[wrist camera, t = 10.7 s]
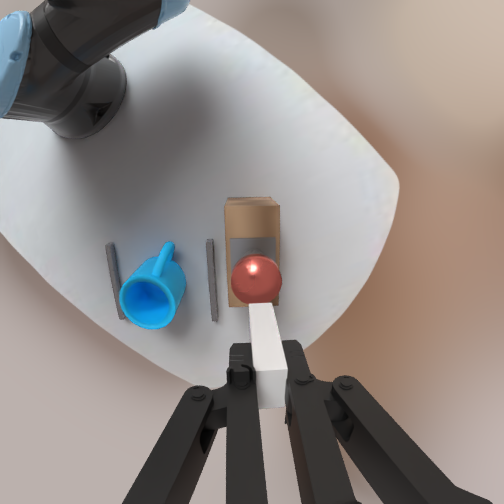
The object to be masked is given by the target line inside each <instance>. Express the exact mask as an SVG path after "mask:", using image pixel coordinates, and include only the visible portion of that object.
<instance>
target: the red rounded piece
mask: <svg viewBox="0 0 504 504" xmlns="http://www.w3.org/2000/svg"><path fill="white" fill-rule="evenodd" d="M281 285H282V278H281V274H280V271H279V269H278V266H277V265H276V263H275V262H274V261H273V260H272V259H271V258H269V257H267V256H265V254H264V253H263V252H262V251H260V250H257V249H250V250H247V251H246V252H244V253H243V254H242V256H241V258H240V260H239V261H238V262H237V263H236V264H235V266H234V267H233V270H232V274H231V288H232V291H233V293H234V295H235V296H236V297H237V298H238V299H239V300H240V301H242V302H243V303H246V304H248V305H249V304H252V303H268V302H270V301H272V300H273V299H274V298H275V297H276V296H277V295H278V293H279V291H280V289H281Z"/></svg>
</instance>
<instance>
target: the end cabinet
mask: <svg viewBox="0 0 504 504" xmlns="http://www.w3.org/2000/svg"><path fill="white" fill-rule="evenodd" d="M224 212H225V239H226V262H227V283H228V301H229V307H249V305H248V304H246V303H243V302H242V301H240V300H239V299H238V298H237V297H236V296H235V295H234V293H233V291H232V288H231V274H232V270H233V267H234V266H235V264H236V263H237V262H238V261H239V260H240V258H241V256H242V254H243V253H244V252H246V251H247V250H250V249H257V250H260V251H262V252H263V253H264V254H265V256H267V257H269V258H271V259H272V260H273V261H274V262H275V263H276V265H277V266H278V269H279V250H280V205H278V204H277V203H276V202H275V201H274V200H273V199H272V198H271V197H243V198H228V199H227V202H226V204H225V206H224ZM268 303H272V305H273V306H277V305H278V303H279V293H278V295H277V296H276V297H275V298H274V299H273V300H272V301H270V302H268Z"/></svg>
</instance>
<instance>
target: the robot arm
mask: <svg viewBox="0 0 504 504" xmlns="http://www.w3.org/2000/svg"><path fill="white" fill-rule="evenodd" d="M189 2H190V0H45V1H44V2H43V3H41V4H40V5H39V6H38V7H37V8H35V9H34V10H33V11H32V12H31V13H30V14H29V13H28V12H27V11H15V12H13V13H12V14H9V15H7V16H6V17H4V18H3V19H2V20H1V21H0V118H4V119H17V120H27V121H36V122H43V123H45V124H46V125H47V126H48V127H49V128H51V129H52V130H53V131H54V132H55V133H56V134H58V135H60V136H62V137H66V138H75V139H78V138H84V137H88V136H90V135H92V134H94V133H96V132H98V131H99V130H100V129H102V128H103V127H104V126H105V125H106V124H107V123H108V122H109V121H110V120H111V119H112V117H113V116H114V115H115V113H116V112H117V110H118V108H119V106H120V104H121V102H122V100H123V97H124V93H125V88H126V75H125V71H124V68H123V66H122V64H121V63H120V62H119V61H118V60H117V59H116V58H115V57H114V56H112V55H111V54H110V53H112V52H113V51H115V50H116V49H118V48H119V47H121V46H123V45H124V44H126V43H128V42H129V41H131V40H133V39H134V38H136V37H138V36H140V35H141V34H143V33H145V32H147V31H149V30H151V29H156V28H158V27H159V26H160V25H161V24H162V23H164V22H166V21H168V20H170V19H172V18H174V17H176V16H178V15H179V14H181V13H182V12H184V11H185V9H186V8H187V6H188V4H189ZM249 337H250V343H233V345H232V346H231V348H230V354H229V368H228V369H227V372H226V373H227V383H226V384H225V385H224V386H223V387H221V388H218V389H215V390H210V389H209V388H208V387H205V386H193V387H190V388H189V389H187V390H186V391H185V393H184V395H183V396H182V398H181V400H180V402H179V404H178V405H177V407H176V409H175V411H174V413H173V415H172V416H171V418H170V420H169V421H168V423H167V425H166V427H165V429H164V430H163V432H162V434H161V436H160V437H159V439H158V441H157V443H156V445H155V446H154V448H153V450H152V452H151V453H150V455H149V457H148V459H147V461H146V462H145V464H144V466H143V468H142V469H141V471H140V473H139V475H138V476H137V478H136V480H135V482H134V483H133V485H132V487H131V489H130V490H129V492H128V494H127V496H126V498H125V499H124V501H123V503H122V504H189V502H190V499H191V497H192V494H193V492H194V490H195V487H196V485H197V482H198V480H199V477H200V475H201V472H202V470H203V467H204V465H205V462H206V460H207V457H208V454H209V452H210V449H211V447H212V444H213V441H214V439H215V436H216V434H217V431H218V429H219V428H223V427H227V436H226V437H227V438H226V439H227V440H226V504H268V500H267V490H266V481H265V471H264V461H263V451H262V440H261V430H260V420H259V409H268V408H282V407H285V404H286V416H285V424H287V425H288V431H289V436H290V442H291V447H292V453H293V458H294V464H295V469H296V475H297V481H298V486H299V492H300V497H301V503H302V504H362V503H360V502H357V500H356V499H355V496H354V493H353V490H352V487H351V483H350V480H349V477H348V474H347V471H346V468H345V464H344V461H343V458H342V455H341V452H340V449H339V445H338V442H337V439H338V440H339V442H340V443H341V445H342V446H343V448H344V449H345V450H346V452H347V453H348V455H349V456H350V458H351V459H352V461H353V462H354V463H355V465H356V466H357V468H358V469H359V471H360V472H361V473H362V475H363V476H364V477H365V479H366V480H367V482H368V483H369V484H370V486H371V487H372V488H373V490H374V491H375V493H376V494H377V495H378V497H379V498H380V499H381V501H382V502H383V503H384V504H492V502H490V501H489V500H487V499H484V498H482V497H480V496H477V495H474V494H472V493H470V492H468V491H465V490H463V489H461V488H458V487H456V486H455V485H454V484H453V483H452V482H451V481H450V480H449V479H448V478H447V477H446V476H445V474H444V473H443V472H442V471H441V470H440V469H439V468H438V467H437V466H436V465H435V464H434V463H433V462H432V461H431V459H430V458H428V456H427V455H426V454H425V453H424V452H423V451H422V450H421V449H420V448H419V447H418V445H417V444H416V443H415V442H414V441H413V440H412V439H411V438H410V437H409V436H408V435H407V434H406V432H405V431H404V430H403V429H402V428H401V427H400V426H399V425H398V424H397V423H396V422H395V421H394V419H393V418H392V417H391V416H390V415H389V414H388V413H387V412H386V411H385V410H384V409H383V407H382V406H381V405H379V403H378V402H377V401H376V400H375V399H374V398H373V397H372V395H371V394H369V392H368V391H367V390H366V389H365V388H364V387H363V386H362V385H361V383H360V382H359V381H358V380H357V379H355V378H354V377H351V376H345V375H344V376H339V377H337V378H335V380H334V381H333V382H324V381H320V380H318V379H316V378H315V376H314V375H313V374H311V373H310V370H309V367H308V364H307V361H306V358H305V355H304V352H303V349H302V346H301V344H300V343H299V342H298V341H297V340H285V341H281V338H280V334H279V330H278V326H277V322H276V317H275V313H274V309H273V305H272V303H252V304H249ZM336 438H337V439H336Z"/></svg>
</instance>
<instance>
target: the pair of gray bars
mask: <svg viewBox="0 0 504 504" xmlns="http://www.w3.org/2000/svg"><path fill="white" fill-rule="evenodd" d="M105 247H106V254H107V260H108V266H109V272H110V277H111V282H112V288H113V292H114V297H115V302H116V306H117V311H118V315H119V319H123V320H124V318H125V317H126V315H125V314H124V312H123V310H122V309H121V305H120V301H119V295H120V290H121V286H120V281H119V276H118V270H117V264H116V257H115V251H114V243H108V244H107V245H105ZM206 250H207V265H208V279H209V292H210V304H211V315H212V321H217V318H218V314H217V301H216V287H215V272H214V256H213V239H207V241H206Z"/></svg>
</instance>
